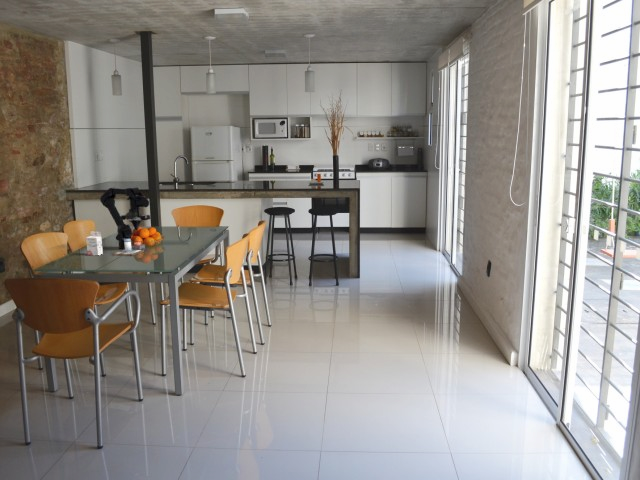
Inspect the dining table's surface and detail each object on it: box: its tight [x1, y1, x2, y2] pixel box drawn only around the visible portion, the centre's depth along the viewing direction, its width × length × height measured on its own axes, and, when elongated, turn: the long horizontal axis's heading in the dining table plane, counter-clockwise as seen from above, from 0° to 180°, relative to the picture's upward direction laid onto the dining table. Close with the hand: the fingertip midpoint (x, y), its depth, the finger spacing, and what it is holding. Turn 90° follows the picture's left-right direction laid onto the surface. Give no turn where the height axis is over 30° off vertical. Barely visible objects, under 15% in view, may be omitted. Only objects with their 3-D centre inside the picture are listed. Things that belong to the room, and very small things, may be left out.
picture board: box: [112, 249, 145, 257], centre depth 387 cm, size 14×14×1 cm
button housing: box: [131, 244, 146, 251], centre depth 398 cm, size 6×6×3 cm
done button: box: [133, 241, 142, 246], centre depth 397 cm, size 4×4×3 cm
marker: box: [124, 238, 132, 252], centre depth 386 cm, size 4×4×8 cm
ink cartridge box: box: [85, 230, 104, 256], centre depth 385 cm, size 9×5×15 cm, turn 71°
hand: (136, 230), depth 396 cm, fingers closed
